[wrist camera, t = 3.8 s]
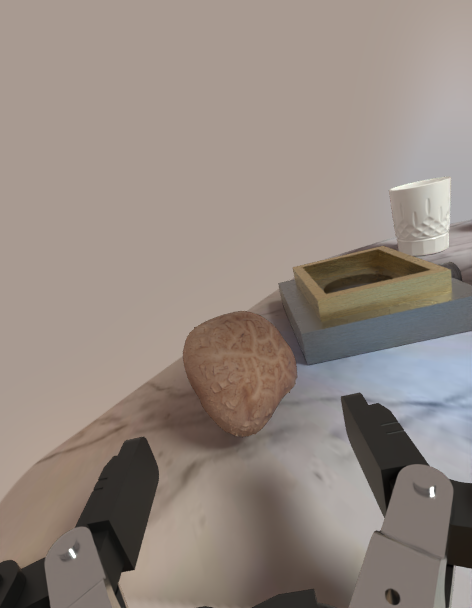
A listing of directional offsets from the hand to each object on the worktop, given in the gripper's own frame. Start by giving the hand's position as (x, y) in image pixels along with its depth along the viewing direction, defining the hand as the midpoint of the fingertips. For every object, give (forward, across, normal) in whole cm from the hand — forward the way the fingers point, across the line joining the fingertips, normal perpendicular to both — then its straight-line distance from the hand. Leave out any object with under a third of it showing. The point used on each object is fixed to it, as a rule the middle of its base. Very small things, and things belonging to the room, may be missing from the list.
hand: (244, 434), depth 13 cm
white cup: (+40, -28, +6) cm, 49 cm away
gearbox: (+23, -13, +6) cm, 27 cm away
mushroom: (+8, 0, +6) cm, 10 cm away
